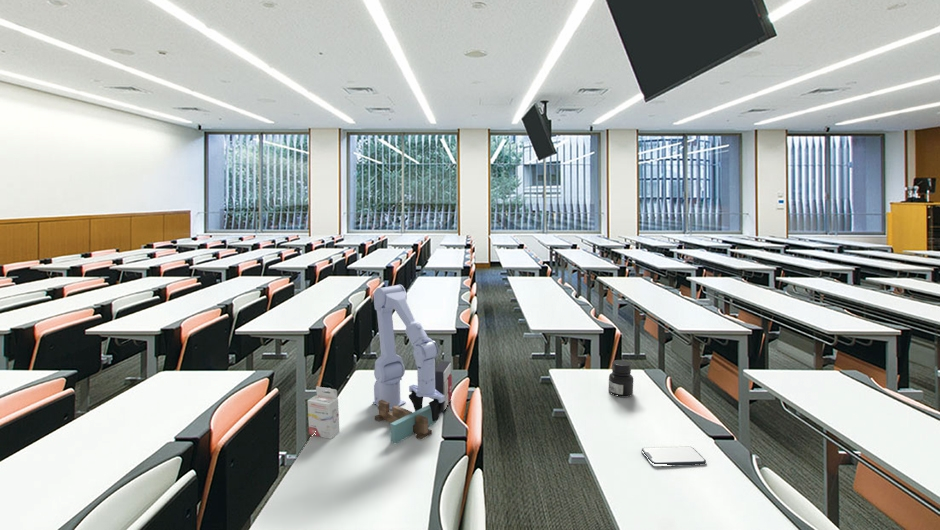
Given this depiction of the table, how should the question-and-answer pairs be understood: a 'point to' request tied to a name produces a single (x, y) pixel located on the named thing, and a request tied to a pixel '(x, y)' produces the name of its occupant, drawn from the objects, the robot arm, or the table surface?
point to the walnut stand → (398, 413)
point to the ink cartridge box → (323, 413)
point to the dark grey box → (444, 381)
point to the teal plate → (408, 424)
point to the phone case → (674, 455)
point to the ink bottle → (621, 378)
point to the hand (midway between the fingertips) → (427, 417)
